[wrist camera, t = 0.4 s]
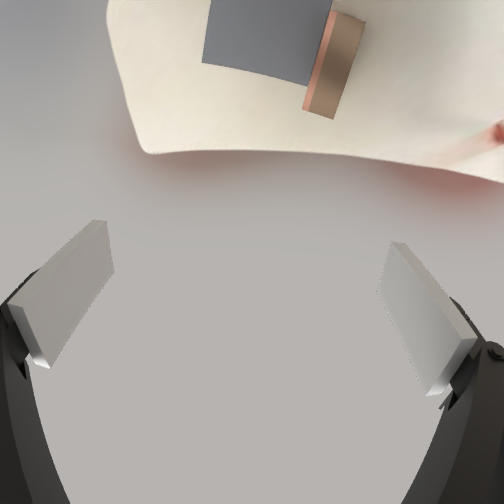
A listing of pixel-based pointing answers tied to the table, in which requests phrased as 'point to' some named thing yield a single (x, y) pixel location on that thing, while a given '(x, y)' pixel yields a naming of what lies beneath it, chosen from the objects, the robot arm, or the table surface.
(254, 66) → the felt mat
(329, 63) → the mottled brown tile
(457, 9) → the table surface
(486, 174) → the table surface
